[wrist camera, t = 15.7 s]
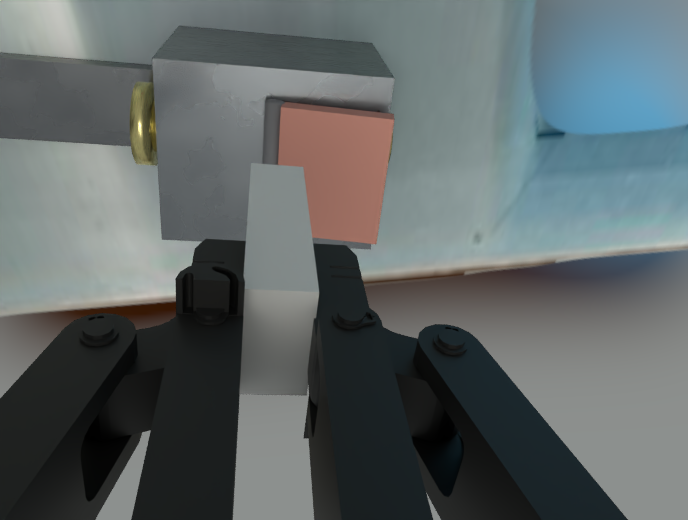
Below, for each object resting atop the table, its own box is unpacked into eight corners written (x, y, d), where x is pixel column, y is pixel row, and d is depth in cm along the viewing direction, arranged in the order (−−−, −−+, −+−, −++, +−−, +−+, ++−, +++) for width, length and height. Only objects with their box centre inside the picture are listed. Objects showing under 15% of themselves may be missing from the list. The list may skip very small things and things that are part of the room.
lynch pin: (148, 148, 39) (133, 176, 35) (144, 72, 37) (126, 94, 33) (377, 162, 41) (387, 191, 37) (386, 92, 39) (399, 114, 35)
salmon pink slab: (258, 231, 33) (376, 244, 33) (262, 105, 30) (394, 119, 30) (261, 221, 34) (375, 233, 35) (266, 98, 31) (393, 112, 31)
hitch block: (-65, 162, 40) (-147, 225, 32) (-105, 0, 35) (-214, 28, 27) (354, 187, 44) (370, 249, 36) (372, 43, 39) (394, 78, 31)
